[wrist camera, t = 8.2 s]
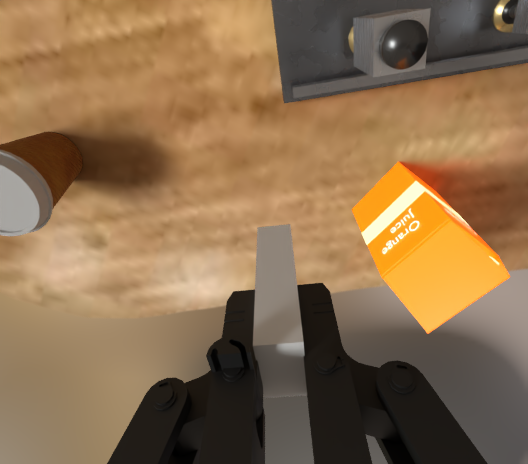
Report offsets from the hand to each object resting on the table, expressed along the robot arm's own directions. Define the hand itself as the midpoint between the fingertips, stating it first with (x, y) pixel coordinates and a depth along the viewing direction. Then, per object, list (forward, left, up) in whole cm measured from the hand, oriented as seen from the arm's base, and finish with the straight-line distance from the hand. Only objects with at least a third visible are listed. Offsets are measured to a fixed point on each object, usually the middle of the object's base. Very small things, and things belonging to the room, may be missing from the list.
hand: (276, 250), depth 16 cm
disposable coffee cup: (+20, +19, -28) cm, 40 cm away
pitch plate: (-8, -15, -28) cm, 33 cm away
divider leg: (-4, -12, -26) cm, 28 cm away
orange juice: (-21, +1, -28) cm, 35 cm away
